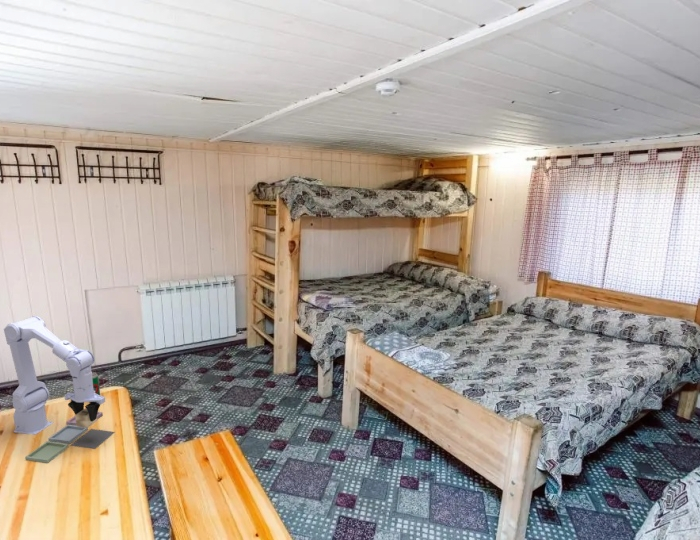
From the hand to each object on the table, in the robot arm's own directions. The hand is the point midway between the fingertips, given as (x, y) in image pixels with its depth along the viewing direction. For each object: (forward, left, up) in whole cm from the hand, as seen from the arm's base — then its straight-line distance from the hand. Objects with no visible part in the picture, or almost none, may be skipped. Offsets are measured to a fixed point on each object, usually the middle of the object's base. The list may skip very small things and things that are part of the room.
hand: (87, 418), depth 144 cm
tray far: (-11, +11, -9) cm, 18 cm away
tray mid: (-9, +1, -9) cm, 13 cm away
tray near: (-8, -9, -9) cm, 15 cm away
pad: (+1, +1, -9) cm, 9 cm away
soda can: (-19, +25, -9) cm, 33 cm away
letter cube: (0, 0, -2) cm, 2 cm away
